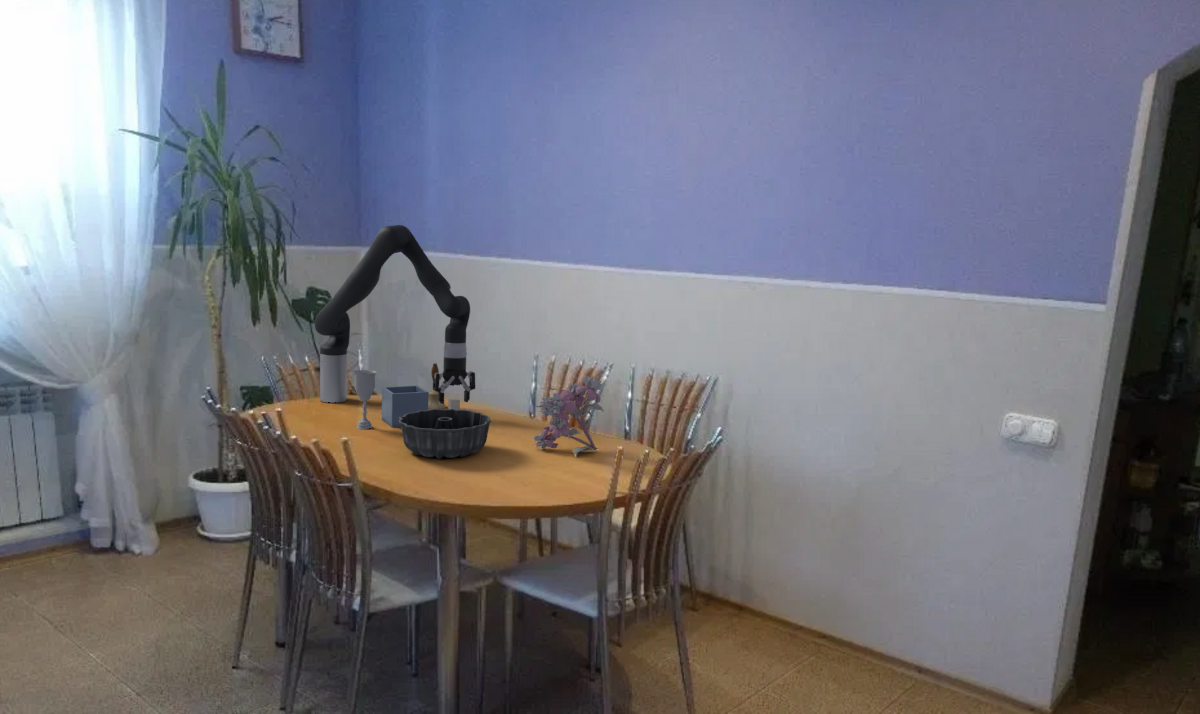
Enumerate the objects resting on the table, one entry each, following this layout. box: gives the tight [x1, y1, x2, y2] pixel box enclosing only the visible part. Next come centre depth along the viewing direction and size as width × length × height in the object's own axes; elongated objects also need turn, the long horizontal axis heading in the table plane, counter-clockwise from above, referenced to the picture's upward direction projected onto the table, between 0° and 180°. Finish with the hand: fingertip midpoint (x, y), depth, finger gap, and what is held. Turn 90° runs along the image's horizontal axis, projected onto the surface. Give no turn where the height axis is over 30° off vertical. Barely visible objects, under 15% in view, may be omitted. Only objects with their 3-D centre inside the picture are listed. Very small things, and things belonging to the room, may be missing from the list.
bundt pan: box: [399, 408, 492, 460], centre depth 249 cm, size 26×26×10 cm
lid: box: [447, 397, 468, 410], centre depth 291 cm, size 13×13×7 cm
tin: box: [381, 385, 430, 428], centre depth 282 cm, size 12×12×11 cm
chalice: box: [352, 369, 377, 430], centre depth 272 cm, size 7×7×18 cm
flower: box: [531, 373, 605, 456], centre depth 254 cm, size 20×22×25 cm
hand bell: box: [428, 363, 447, 410], centre depth 307 cm, size 8×8×16 cm
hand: (454, 402), depth 290 cm, fingers open, 8 cm apart
